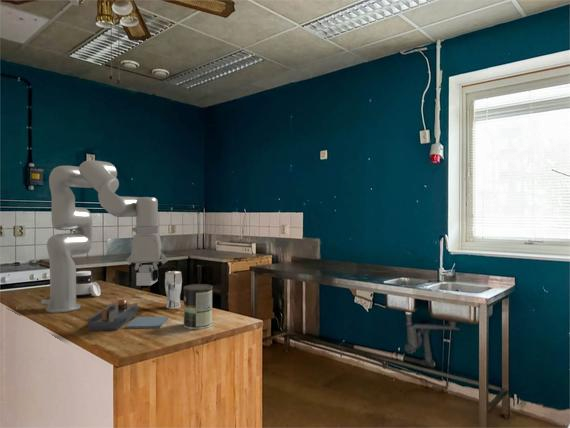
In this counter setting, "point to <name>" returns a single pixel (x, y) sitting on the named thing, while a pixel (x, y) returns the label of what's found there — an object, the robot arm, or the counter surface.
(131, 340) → the counter surface
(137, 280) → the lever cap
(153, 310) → the counter surface
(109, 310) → the body
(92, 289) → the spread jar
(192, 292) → the coffee can
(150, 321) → the mat
